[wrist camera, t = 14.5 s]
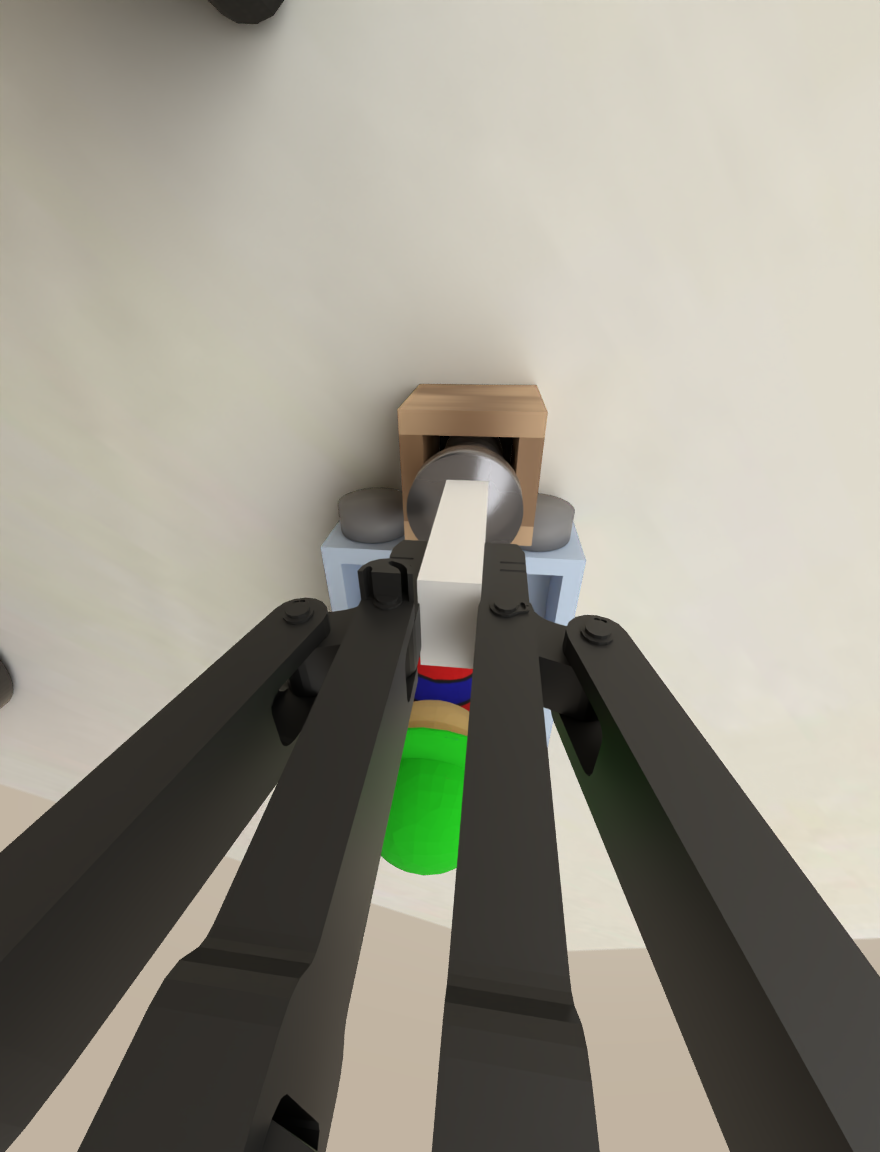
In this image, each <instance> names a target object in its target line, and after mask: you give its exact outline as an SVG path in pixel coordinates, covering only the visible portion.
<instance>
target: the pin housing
mask: <svg viewBox="0 0 880 1152" xmlns="http://www.w3.org/2000/svg"><path fill="white" fill-rule="evenodd" d="M397 413H398V430H399V447H400V464H401V481H402V498H403V515H404V532H405V540H418V539H417V538H416V537H415V535H414V533H413V531H412V529H411V527H410V525H409V521H408V517H407V498H408V494H409V491H410V488H411V486H412V484H413V482H414V480H415V477H416V475H417V473H418V471H419V470H420V468H421V467H422V466H423V464H424V463H425V462H426V461H427V460H428V459H429V458H430V457H432V456H433V455H435V454H436V453H438V452H439V451H440V449H439V435H440V436H483V437H512V450H511V462H510V466H511V467H512V468H513V470H514V471H515V473H516V475H517V477H518V479H519V482H520V485H521V490H522V499H523V519H522V524H521V527H520V529H519V531H518V533H517V535H516V537H515V538H514V540H513V541H512V542H511V543H510V544H518V545H519V546H531V544H532V536H533V528H534V520H535V512H536V503H537V495H538V487H539V479H540V471H541V462H542V454H543V446H544V438H545V430H546V422H547V413H548V412H547V409H546V407H545V404H544V402H543V400H542V397H541V395H540V392H539V390H538V387H537V385H465V384H419V386H418V387H417V388H416V389H415V390H414V391H413V392H412V393H411V395H410V396H409V397H408V398H407V399H406V400H405V401H404V402H403V404H402V405H401V406H400V407H399V408H398V409H397Z"/></svg>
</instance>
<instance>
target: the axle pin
mask: <svg viewBox="0 0 880 1152" xmlns="http://www.w3.org/2000/svg"><path fill="white" fill-rule="evenodd" d="M446 480H469V481H489V483H488V501H487V519H486V537H485V543H502V544H510V543H511V542H512V541H513V540H514V538H515V537H516V535H517V533H518V531H519V529H520V527H521V524H522V519H523V499H522V490H521V485H520V482H519V479H518V477H517V475H516V473H515V471H514V470H513V468H512V467H511V466H510V464H509V463H508V462H507V461H506V460H505V459H504V458H503V447H502V443H501V441H500V439H499V437H483V436H450V437H449V439H448V441H447V443H446V446H445V449H444V450H442V451H439V452H438V453H436V454H435V455H433V456H432V457H430V458H429V459H428V460H427V461H426V462H425V463H424V464H423V466H422V467H421V468H420V470H419V471H418V473H417V475H416V477H415V480H414V482H413V484H412V486H411V488H410V491H409V494H408V498H407V517H408V521H409V525H410V527H411V529H412V531H413V533H414V535H415V537H416V538H417V539H418V540H419V541H429V538H430V534H431V531H432V527H433V524H434V521H435V517H436V514H437V511H438V507H439V504H440V500H441V497H442V494H443V490H444V487H445V484H446Z"/></svg>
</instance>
